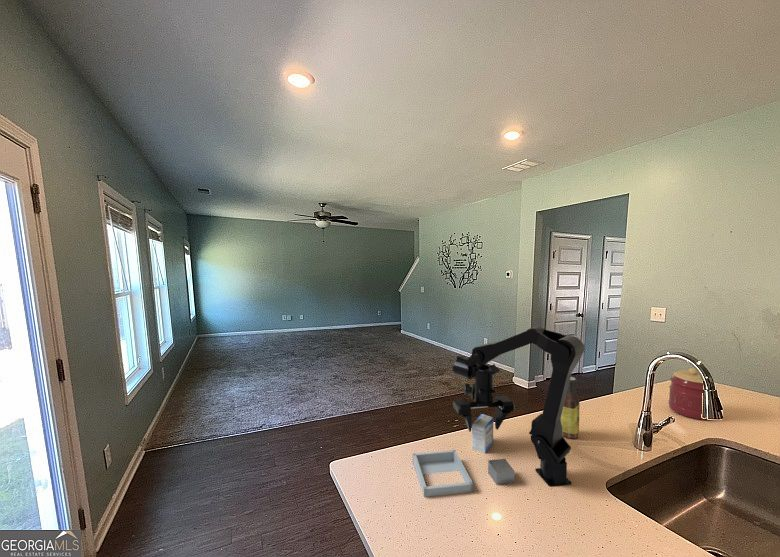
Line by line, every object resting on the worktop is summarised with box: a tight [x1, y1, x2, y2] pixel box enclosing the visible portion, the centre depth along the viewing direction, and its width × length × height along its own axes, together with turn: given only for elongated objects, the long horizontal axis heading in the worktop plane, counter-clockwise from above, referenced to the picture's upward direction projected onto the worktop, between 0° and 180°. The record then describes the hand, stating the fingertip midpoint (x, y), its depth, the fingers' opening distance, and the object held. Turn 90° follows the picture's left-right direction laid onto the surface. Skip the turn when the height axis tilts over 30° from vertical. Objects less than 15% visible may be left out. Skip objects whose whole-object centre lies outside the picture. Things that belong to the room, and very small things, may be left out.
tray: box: [412, 449, 475, 498], centre depth 83 cm, size 14×13×4 cm
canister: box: [668, 367, 717, 421], centre depth 118 cm, size 13×13×18 cm
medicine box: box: [471, 413, 494, 454], centre depth 98 cm, size 8×4×9 cm, turn 143°
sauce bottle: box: [561, 376, 580, 439], centre depth 104 cm, size 6×6×20 cm
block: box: [487, 458, 516, 486], centre depth 82 cm, size 5×5×4 cm
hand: (483, 430), depth 98 cm, fingers open, 9 cm apart
